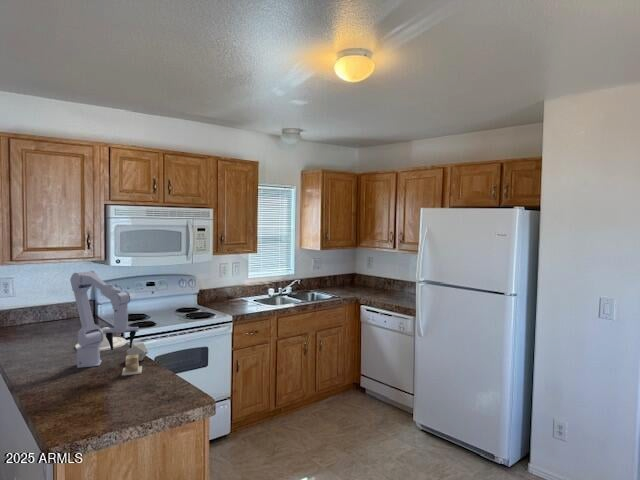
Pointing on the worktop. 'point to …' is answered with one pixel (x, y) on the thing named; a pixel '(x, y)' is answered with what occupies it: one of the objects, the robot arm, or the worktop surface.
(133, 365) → the maple block
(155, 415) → the worktop surface
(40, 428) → the worktop surface
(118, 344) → the dish
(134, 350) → the die
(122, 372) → the tray
